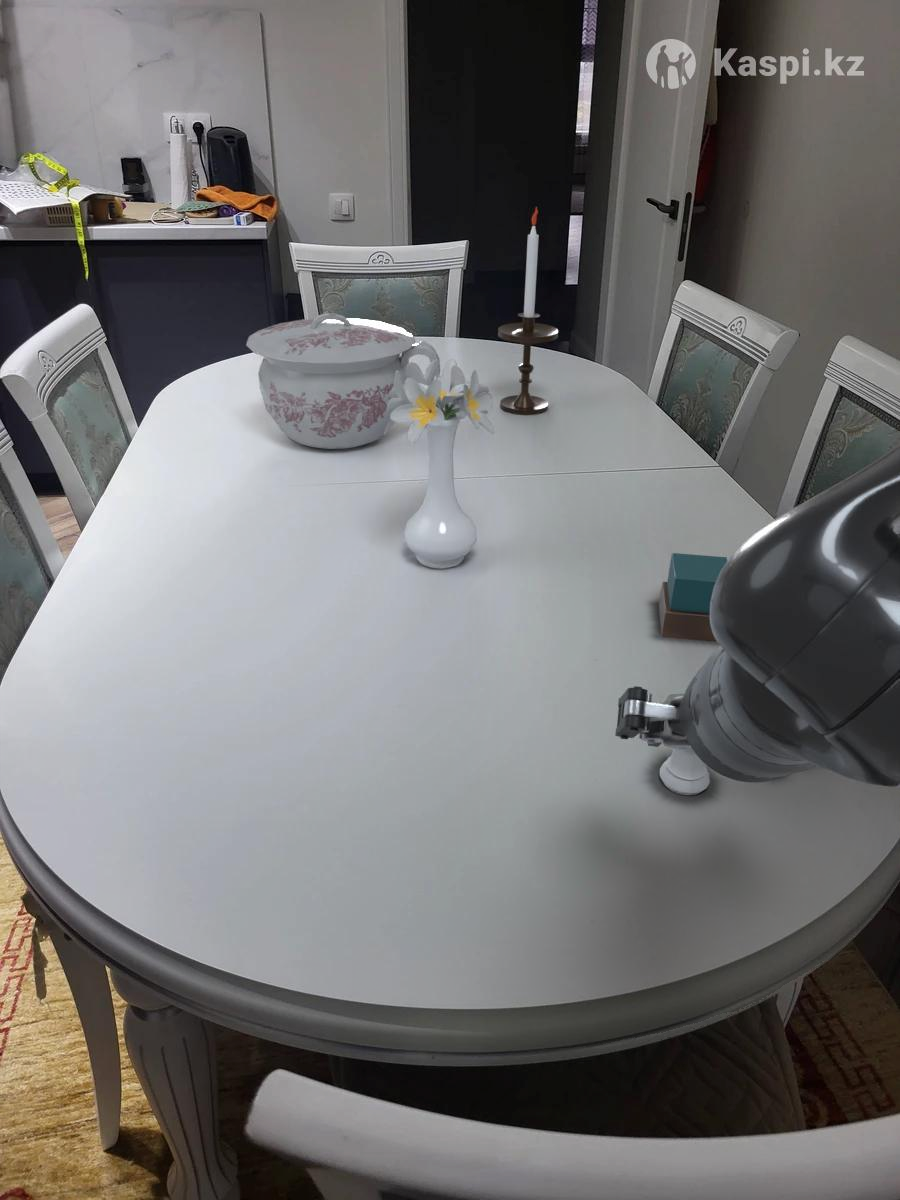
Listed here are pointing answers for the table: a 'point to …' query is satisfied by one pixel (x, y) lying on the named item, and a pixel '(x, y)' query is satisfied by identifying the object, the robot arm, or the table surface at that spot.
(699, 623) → the stack base
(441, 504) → the flower vase
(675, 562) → the stack top
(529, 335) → the candlestick
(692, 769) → the rook chess piece
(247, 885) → the table surface
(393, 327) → the chamber pot
